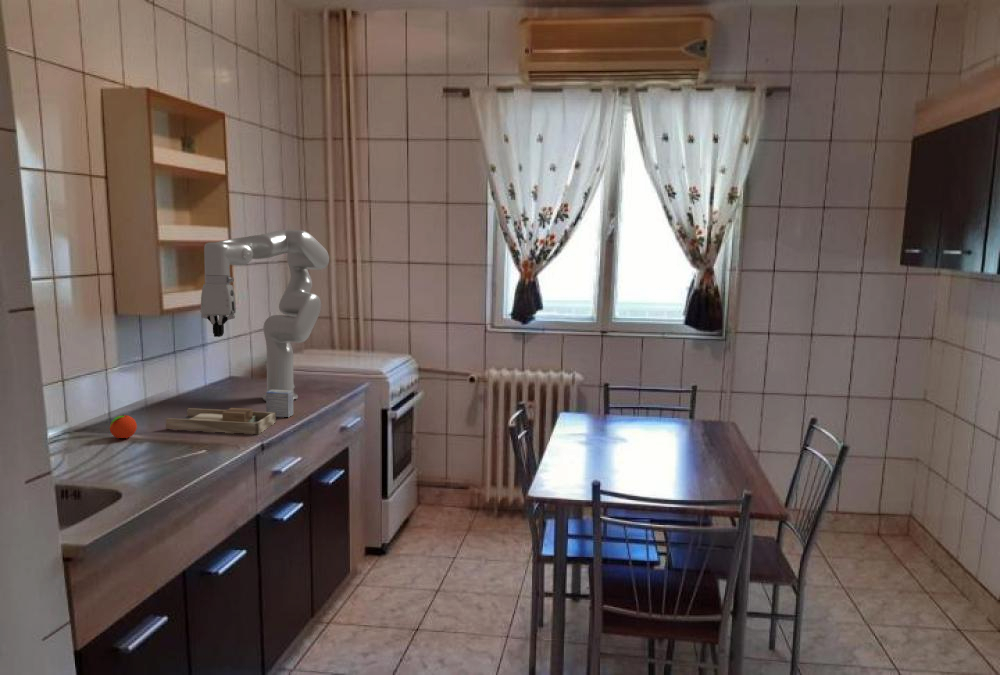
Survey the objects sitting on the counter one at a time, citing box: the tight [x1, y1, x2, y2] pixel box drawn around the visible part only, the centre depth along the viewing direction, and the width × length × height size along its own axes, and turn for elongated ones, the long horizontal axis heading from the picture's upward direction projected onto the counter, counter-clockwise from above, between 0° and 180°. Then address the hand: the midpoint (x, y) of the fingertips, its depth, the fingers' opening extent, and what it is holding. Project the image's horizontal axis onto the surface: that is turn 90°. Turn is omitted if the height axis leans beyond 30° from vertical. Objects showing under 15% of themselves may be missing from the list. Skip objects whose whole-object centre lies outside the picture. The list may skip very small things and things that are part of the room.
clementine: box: [109, 414, 138, 439], centre depth 196 cm, size 8×7×7 cm
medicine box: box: [265, 390, 294, 419], centre depth 228 cm, size 8×4×9 cm, turn 84°
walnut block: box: [222, 407, 254, 422], centre depth 212 cm, size 6×7×3 cm
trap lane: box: [165, 407, 277, 436], centre depth 213 cm, size 14×29×4 cm, turn 87°
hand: (218, 336), depth 222 cm, fingers closed
